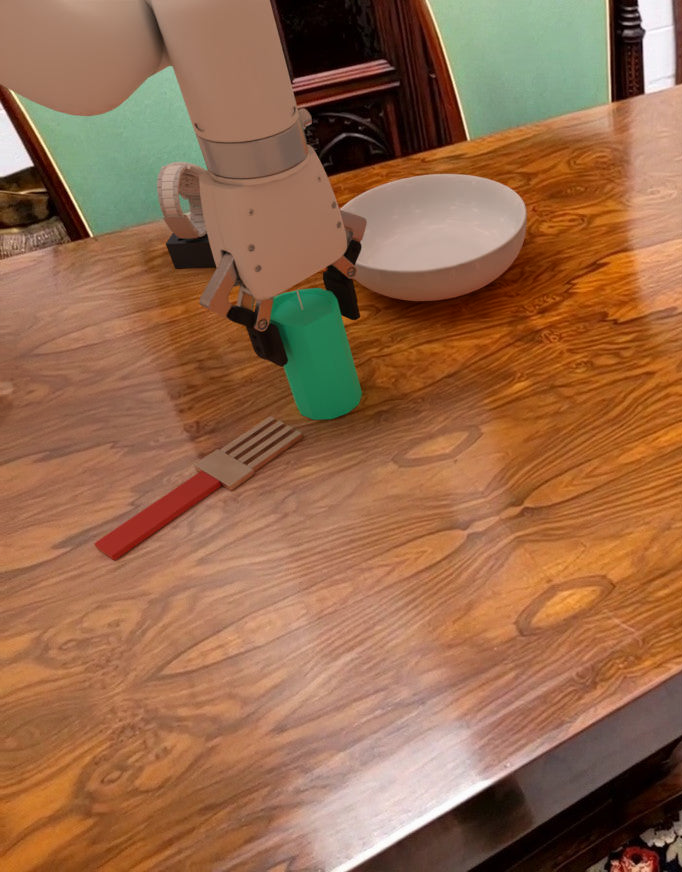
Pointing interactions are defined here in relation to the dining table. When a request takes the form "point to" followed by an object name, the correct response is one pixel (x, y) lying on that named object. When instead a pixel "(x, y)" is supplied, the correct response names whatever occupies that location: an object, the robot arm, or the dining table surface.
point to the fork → (205, 482)
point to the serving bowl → (437, 235)
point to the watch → (188, 235)
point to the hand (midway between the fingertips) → (311, 335)
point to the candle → (316, 353)
